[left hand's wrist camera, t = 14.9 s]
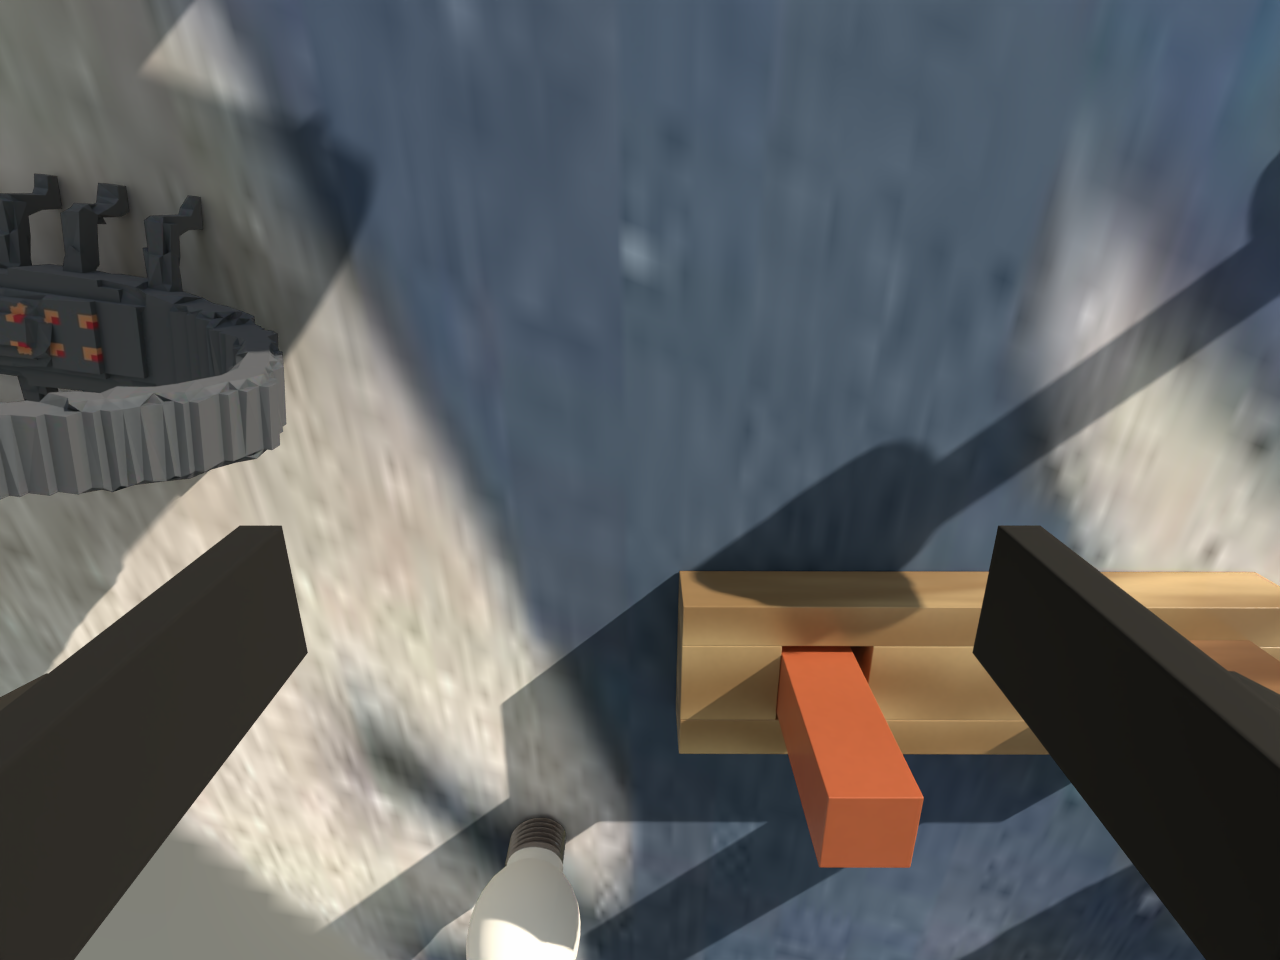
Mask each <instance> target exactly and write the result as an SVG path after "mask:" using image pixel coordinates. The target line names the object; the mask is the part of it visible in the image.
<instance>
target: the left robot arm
mask: <svg viewBox="0 0 1280 960" xmlns="http://www.w3.org/2000/svg"><path fill="white" fill-rule="evenodd" d="M307 653H308V652H307V647H306V642H305V637H304V632H303V627H302V623H301V618H300V613H299V608H298V603H297V598H296V593H295V588H294V584H293V579H292V574H291V569H290V564H289V559H288V554H287V549H286V545H285V540H284V535H283V530H282V526H239V527H238V528H236V529H235V530H234V531H232V532H231V533H230V534H228V535H227V536H226V537H225V538H223V539H222V540H221V541H219V542H218V543H217V544H216V545H214V546H213V547H212V548H210V549H209V550H208V551H206V552H205V553H204V554H203V555H201V556H200V557H199V558H197V559H196V560H195V561H194V562H192V563H191V564H190V565H188V566H187V567H186V568H184V569H183V570H182V571H181V572H179V573H178V574H177V575H175V576H174V577H173V578H172V579H170V580H169V581H168V582H166V583H165V584H164V585H162V586H161V587H160V588H159V589H157V590H156V591H155V592H153V593H152V594H151V595H150V596H148V597H147V598H146V599H144V600H143V601H142V602H140V603H139V604H138V605H137V606H135V607H134V608H133V609H131V610H130V611H129V612H128V613H126V614H125V615H124V616H122V617H121V618H120V619H118V620H117V621H116V622H115V623H113V624H112V625H111V626H109V627H108V628H107V629H106V630H104V631H103V632H102V633H100V634H99V635H98V636H96V637H95V638H94V639H93V640H91V641H90V642H89V643H87V644H86V645H85V646H84V647H82V648H81V649H80V650H78V651H77V652H76V653H75V654H73V655H72V656H71V657H69V658H68V659H67V660H65V661H64V662H63V663H62V664H60V665H59V666H58V667H56V668H55V669H54V670H53V671H51V672H50V673H49V674H45V675H43V676H41V677H39V678H37V679H35V680H33V681H31V682H29V683H27V684H25V685H23V686H21V687H19V688H17V689H16V690H14V691H12V692H10V693H8V694H6V695H4V696H2V697H0V960H74V959H75V958H76V956H77V955H78V954H79V952H80V951H81V950H82V948H83V947H84V946H85V944H86V943H87V942H88V941H89V939H90V938H91V937H92V935H93V934H94V933H95V931H96V930H97V929H98V927H99V926H100V925H101V923H102V922H103V921H104V920H105V918H106V917H107V916H108V914H109V913H110V912H111V910H112V909H113V908H114V906H115V905H116V904H117V902H118V901H119V900H120V899H121V897H122V896H123V895H124V893H125V892H126V891H127V889H128V888H129V887H130V885H131V884H132V883H133V881H134V880H135V879H136V877H137V876H138V875H139V874H140V872H141V871H142V870H143V868H144V867H145V866H146V864H147V863H148V862H149V860H150V859H151V858H152V857H153V855H154V854H155V853H156V851H157V850H158V849H159V847H160V846H161V845H162V843H163V842H164V841H165V839H166V838H167V837H168V835H169V834H170V833H171V832H172V830H173V829H174V828H175V826H176V825H177V824H178V822H179V821H180V820H181V818H182V817H183V816H184V815H185V813H186V812H187V811H188V809H189V808H190V807H191V805H192V804H193V803H194V801H195V800H196V799H197V797H198V796H199V795H200V793H201V792H202V791H203V790H204V788H205V787H206V786H207V784H208V783H209V782H210V780H211V779H212V778H213V776H214V775H215V774H216V772H217V771H218V770H219V769H220V767H221V766H222V765H223V763H224V762H225V761H226V759H227V758H228V757H229V755H230V754H231V753H232V751H233V750H234V749H235V748H236V746H237V745H238V744H239V742H240V741H241V740H242V738H243V737H244V736H245V734H246V733H247V732H248V730H249V729H250V728H251V727H252V725H253V724H254V723H255V721H256V720H257V719H258V717H259V716H260V715H261V713H262V712H263V711H264V709H265V708H266V707H267V706H268V704H269V703H270V702H271V700H272V699H273V698H274V696H275V695H276V694H277V692H278V691H279V690H280V688H281V687H282V686H283V685H284V683H285V682H286V681H287V679H288V678H289V677H290V675H291V674H292V673H293V671H294V670H295V669H296V667H297V666H298V665H299V663H300V662H301V661H302V660H303V658H304V657H305V656H306V654H307ZM972 653H973V654H974V656H975V657H976V658H977V660H978V661H979V662H980V663H981V665H982V666H983V667H984V669H985V670H986V671H987V673H988V674H989V675H990V677H991V678H992V679H993V681H994V682H995V683H996V685H997V686H998V687H999V688H1000V690H1001V691H1002V692H1003V694H1004V695H1005V696H1006V698H1007V699H1008V700H1009V702H1010V703H1011V704H1012V706H1013V707H1014V708H1015V709H1016V711H1017V712H1018V713H1019V715H1020V716H1021V717H1022V719H1023V720H1024V721H1025V723H1026V724H1027V725H1028V727H1029V728H1030V729H1031V730H1032V732H1033V733H1034V734H1035V736H1036V737H1037V738H1038V740H1039V741H1040V742H1041V744H1042V745H1043V746H1044V748H1045V749H1046V750H1047V751H1048V753H1049V754H1050V755H1051V757H1052V758H1053V759H1054V761H1055V762H1056V763H1057V765H1058V766H1059V767H1060V769H1061V770H1062V771H1063V772H1064V774H1065V775H1066V776H1067V778H1068V779H1069V780H1070V782H1071V783H1072V784H1073V786H1074V787H1075V788H1076V790H1077V791H1078V792H1079V793H1080V795H1081V796H1082V797H1083V799H1084V800H1085V801H1086V803H1087V804H1088V805H1089V807H1090V808H1091V809H1092V811H1093V812H1094V813H1095V815H1096V816H1097V817H1098V818H1099V820H1100V821H1101V822H1102V824H1103V825H1104V826H1105V828H1106V829H1107V830H1108V832H1109V833H1110V834H1111V836H1112V837H1113V838H1114V839H1115V841H1116V842H1117V843H1118V845H1119V846H1120V847H1121V849H1122V850H1123V851H1124V853H1125V854H1126V855H1127V857H1128V858H1129V859H1130V860H1131V862H1132V863H1133V864H1134V866H1135V867H1136V868H1137V870H1138V871H1139V872H1140V874H1141V875H1142V876H1143V878H1144V879H1145V880H1146V881H1147V883H1148V884H1149V885H1150V887H1151V888H1152V889H1153V891H1154V892H1155V893H1156V895H1157V896H1158V897H1159V899H1160V900H1161V901H1162V902H1163V904H1164V905H1165V906H1166V908H1167V909H1168V910H1169V912H1170V913H1171V914H1172V916H1173V917H1174V918H1175V920H1176V921H1177V922H1178V923H1179V925H1180V926H1181V927H1182V929H1183V930H1184V931H1185V933H1186V934H1187V935H1188V937H1189V938H1190V939H1191V941H1192V942H1193V943H1194V944H1195V946H1196V947H1197V948H1198V950H1199V951H1200V952H1201V954H1202V955H1203V956H1204V958H1205V959H1206V960H1280V694H1278V693H1276V692H1274V691H1272V690H1270V689H1268V688H1266V687H1264V686H1263V685H1261V684H1259V683H1257V682H1255V681H1253V680H1251V679H1249V678H1247V677H1245V676H1243V675H1241V674H1239V673H1237V672H1235V671H1227V670H1226V669H1225V668H1224V667H1222V666H1221V665H1220V664H1218V663H1217V662H1216V661H1215V660H1213V659H1212V658H1211V657H1209V656H1208V655H1207V654H1205V653H1204V652H1203V651H1202V650H1200V649H1199V648H1198V647H1196V646H1195V645H1194V644H1193V643H1191V642H1190V641H1189V640H1187V639H1186V638H1185V637H1184V636H1182V635H1181V634H1180V633H1178V632H1177V631H1176V630H1174V629H1173V628H1172V627H1171V626H1169V625H1168V624H1167V623H1165V622H1164V621H1163V620H1162V619H1160V618H1159V617H1158V616H1156V615H1155V614H1154V613H1152V612H1151V611H1150V610H1149V609H1147V608H1146V607H1145V606H1143V605H1142V604H1141V603H1140V602H1138V601H1137V600H1136V599H1134V598H1133V597H1132V596H1130V595H1129V594H1128V593H1127V592H1125V591H1124V590H1123V589H1121V588H1120V587H1119V586H1118V585H1116V584H1115V583H1114V582H1112V581H1111V580H1110V579H1108V578H1107V577H1106V576H1105V575H1103V574H1102V573H1101V572H1099V571H1098V570H1097V569H1096V568H1094V567H1093V566H1092V565H1090V564H1089V563H1088V562H1086V561H1085V560H1084V559H1083V558H1081V557H1080V556H1079V555H1077V554H1076V553H1075V552H1074V551H1072V550H1071V549H1070V548H1068V547H1067V546H1066V545H1064V544H1063V543H1062V542H1061V541H1059V540H1058V539H1057V538H1055V537H1054V536H1053V535H1052V534H1050V533H1049V532H1048V531H1046V530H1045V529H1044V528H1042V527H1041V526H998V530H997V535H996V540H995V545H994V549H993V554H992V559H991V564H990V569H989V574H988V579H987V584H986V588H985V593H984V598H983V603H982V608H981V613H980V618H979V623H978V627H977V632H976V637H975V642H974V647H973V652H972Z"/></svg>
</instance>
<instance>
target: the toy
mask: <svg viewBox="0 0 1280 960" xmlns="http://www.w3.org/2000/svg"><path fill="white" fill-rule="evenodd" d="M44 209H62V206H61V200H60V193H59V186H58V180H57V176H52V175H45V174H34V190H33V193H0V374H7V375H14V376H18V379H19V383H20V386H21V390H22V393H23V396H24V400H25V401H18V402H8V403H6V402H0V499H2V498H5V497H7V496H17V497H21V496H23V495H25V494H27V493H33V494H41V495H49V496H50V495H52V494H54V493H56V492H64V493H72V494H80V493H86V492H91V491H97V490H106V491H111V492H114V491H117V490H120V489H123V488H126V487H129V486H133V485H138V484H146V483H154V482H162V481H171V480H180V479H189V478H192V477H195V476H197V475H199V474H202V473H204V472H207V471H209V470H211V469H214V468H218V467H222V466H225V465H229V464H232V463H236V462H241V461H247V460H252V459H257V458H258V457H259V456H260V455H261V454H263V453H264V452H265V451H266V450H267V449H268V450H273V449H275V448H276V447H278V446H279V445H280V433H281V432H283V428H282V427H283V426H284V425H286V407H285V385H284V367H283V355H282V352H281V351H279V349H278V333H274V331H269V330H264V328H261V326H257V325H255V319H254V316H252V315H250V314H247V313H245V312H243V311H240V310H237V309H234V308H231V307H228V306H223V305H219V304H214V303H211V302H210V301H208V300H206V299H204V298H202V297H199V296H196V295H193V294H189V293H186V292H183V290H182V283H181V276H180V269H179V264H180V242H179V236H180V235H182V234H183V233H185V232H186V231H188V230H197V229H203V223H202V210H201V198H200V197H195V196H187V198H186V200H185V201H184V203H183V204H182V206H181V208H180V211H179V215H159V216H149V217H148V218H147V219H145V220H144V224H145V232H146V239H147V247H148V248H143V253H144V259H145V265H146V271H147V277H148V278H143V277H136V276H130V275H123V274H109V273H105V272H100V271H96V269H97V268H98V266H99V250H98V234H97V225H98V224H106V222H105V220H104V218H103V217H120V216H123V215H125V214H126V213H128V212H129V208H128V200H127V191H126V186H120V185H113V184H106V183H98V191H97V201H96V203H95V204H83V203H74V204H73V205H72V206H71V208H69V209H67V210H65V211H63V212H61V213H60V214H61V222H62V231H63V239H64V248H65V257H64V263H63V266H59V265H52V264H47V265H34V266H32V263H31V251H30V226H29V217H28V216H29V215H31V214H33V213H36V212H38V211H40V210H44ZM58 388H61V389H71V390H82V392H81V391H69V392H58Z"/></svg>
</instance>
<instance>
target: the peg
mask: <svg viewBox="0 0 1280 960" xmlns="http://www.w3.org/2000/svg"><path fill="white" fill-rule="evenodd" d="M776 712H777V716H778V719H779V723H780V727H781V730H782V734H783V738H784V741H785V745H786V748H787V752H788V756H789V759H790V763H791V767H792V770H793V774H794V777H795V781H796V785H797V788H798V792H799V796H800V799H801V803H802V806H803V810H804V814H805V817H806V821H807V825H808V828H809V832H810V835H811V839H812V843H813V846H814V850H815V854H816V857H817V861H818V864H819V867H861V868H909V867H910V866H911V861H912V855H913V850H914V845H915V840H916V835H917V830H918V825H919V820H920V814H921V809H922V804H923V799H924V798H923V795H922V793H921V791H920V789H919V787H918V785H917V783H916V781H915V779H914V777H913V775H912V773H911V771H910V769H909V767H908V765H907V763H906V761H905V758H904V756H903V754H902V752H901V750H900V748H899V746H898V744H897V742H896V740H895V738H894V736H893V734H892V732H891V730H890V728H889V726H888V724H887V722H886V720H885V718H884V715H883V713H882V711H881V709H880V707H879V705H878V703H877V701H876V699H875V697H874V695H873V693H872V691H871V689H870V687H869V685H868V683H867V681H866V679H865V677H864V675H863V672H862V670H861V668H860V666H859V664H858V662H857V660H856V658H855V656H854V654H853V652H852V650H851V648H850V646H782V652H781V663H780V674H779V685H778V696H777V708H776Z"/></svg>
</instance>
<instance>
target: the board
mask: <svg viewBox="0 0 1280 960" xmlns="http://www.w3.org/2000/svg"><path fill="white" fill-rule="evenodd" d="M1101 573H1102V574H1103V575H1105V576H1106V577H1107V578H1108V579H1110V580H1111V581H1112V582H1114V583H1115V584H1116V585H1118V586H1119V587H1120V588H1121V589H1123V590H1124V591H1125V592H1127V593H1128V594H1129V595H1130V596H1132V597H1133V598H1134V599H1136V600H1137V601H1138V602H1140V603H1141V604H1142V605H1143V606H1145V607H1146V608H1147V609H1149V610H1150V611H1151V612H1152V613H1154V614H1155V615H1156V616H1158V617H1159V618H1160V619H1162V620H1163V621H1164V622H1165V623H1167V624H1168V625H1169V626H1171V627H1172V628H1173V629H1174V630H1176V631H1177V632H1178V633H1180V634H1181V635H1182V636H1184V637H1185V638H1186V639H1187V640H1189V641H1190V642H1191V643H1193V644H1194V645H1195V646H1196V647H1198V648H1199V649H1200V650H1202V651H1203V652H1204V653H1205V654H1207V655H1208V656H1209V657H1211V658H1212V659H1213V660H1215V661H1216V662H1217V663H1218V664H1220V665H1221V666H1222V667H1224V668H1225V669H1226V670H1227V671H1235V672H1237V673H1239V674H1241V675H1243V676H1245V677H1247V678H1249V679H1251V680H1253V681H1255V682H1257V683H1259V684H1261V685H1263V686H1264V687H1266V688H1268V689H1270V690H1272V691H1274V692H1276V693H1278V694H1280V586H1278V585H1276V584H1275V583H1273V582H1271V581H1269V580H1268V579H1266V578H1264V577H1263V576H1261V575H1259V574H1257V573H1256V572H1101ZM988 574H989V572H876V571H679V601H678V640H677V680H676V719H677V733H678V747H679V754H788V752H787V748H786V745H785V741H784V738H783V734H782V730H781V727H780V723H779V719H778V716H777V712H776V708H777V696H778V685H779V674H780V663H781V652H782V646H850V648H851V650H852V652H853V654H854V656H855V658H856V660H857V662H858V664H859V666H860V668H861V670H862V672H863V675H864V677H865V679H866V681H867V683H868V685H869V687H870V689H871V691H872V693H873V695H874V697H875V699H876V701H877V703H878V705H879V707H880V709H881V711H882V713H883V715H884V718H885V720H886V722H887V724H888V726H889V728H890V730H891V732H892V734H893V736H894V738H895V740H896V742H897V744H898V746H899V748H900V750H901V752H902V754H1032V755H1050V754H1049V753H1048V751H1047V750H1046V749H1045V748H1044V746H1043V745H1042V744H1041V742H1040V741H1039V740H1038V738H1037V737H1036V736H1035V734H1034V733H1033V732H1032V730H1031V729H1030V728H1029V727H1028V725H1027V724H1026V723H1025V721H1024V720H1023V719H1022V717H1021V716H1020V715H1019V713H1018V712H1017V711H1016V709H1015V708H1014V707H1013V706H1012V704H1011V703H1010V702H1009V700H1008V699H1007V698H1006V696H1005V695H1004V694H1003V692H1002V691H1001V690H1000V688H999V687H998V686H997V685H996V683H995V682H994V681H993V679H992V678H991V677H990V675H989V674H988V673H987V671H986V670H985V669H984V667H983V666H982V665H981V663H980V662H979V661H978V660H977V658H976V657H975V656H974V654H973V653H972V652H973V647H974V642H975V637H976V632H977V627H978V623H979V618H980V613H981V608H982V603H983V598H984V593H985V588H986V584H987V579H988Z"/></svg>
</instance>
